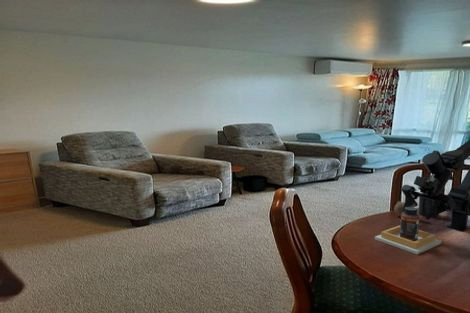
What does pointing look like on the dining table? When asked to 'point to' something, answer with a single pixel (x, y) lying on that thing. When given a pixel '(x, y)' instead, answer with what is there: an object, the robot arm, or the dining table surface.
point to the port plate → (418, 246)
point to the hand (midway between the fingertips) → (414, 215)
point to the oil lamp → (400, 206)
